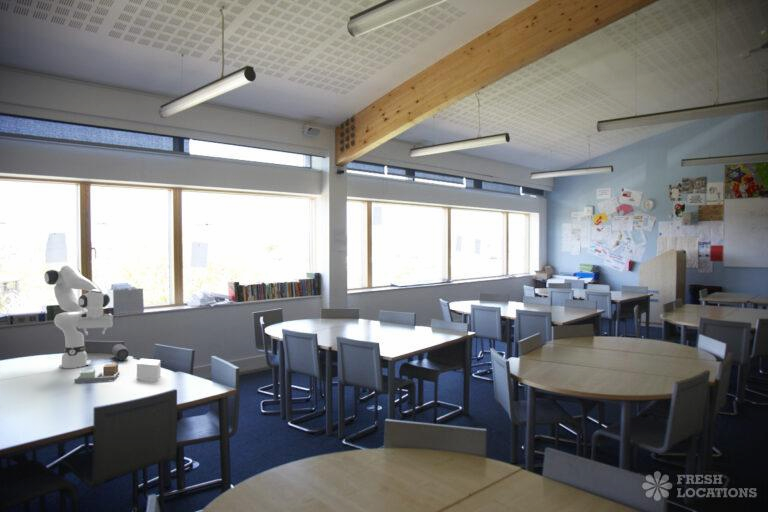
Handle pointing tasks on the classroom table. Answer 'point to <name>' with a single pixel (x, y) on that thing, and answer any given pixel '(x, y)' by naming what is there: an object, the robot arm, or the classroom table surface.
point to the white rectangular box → (148, 369)
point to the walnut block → (110, 369)
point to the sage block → (87, 374)
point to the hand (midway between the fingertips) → (94, 334)
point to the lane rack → (96, 378)
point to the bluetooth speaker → (120, 351)
